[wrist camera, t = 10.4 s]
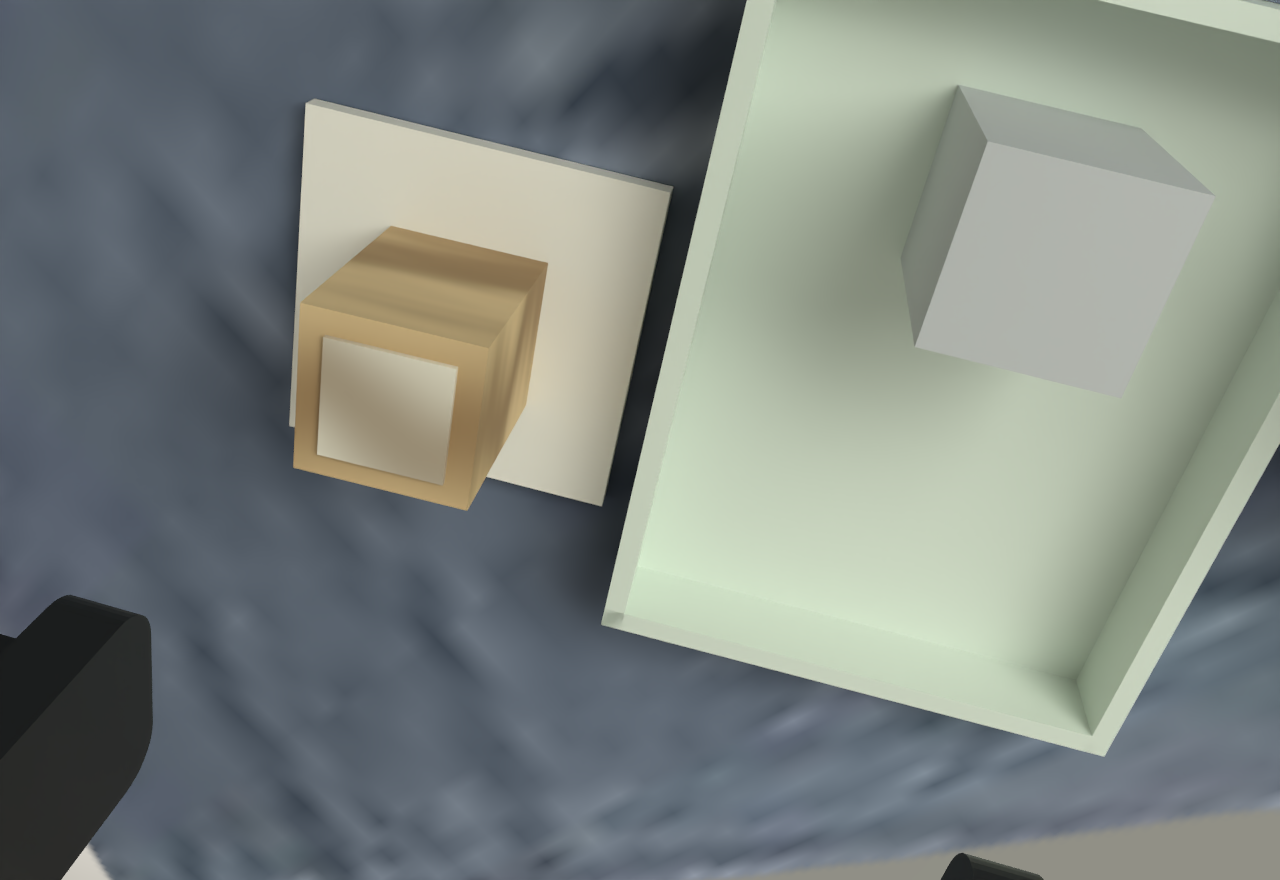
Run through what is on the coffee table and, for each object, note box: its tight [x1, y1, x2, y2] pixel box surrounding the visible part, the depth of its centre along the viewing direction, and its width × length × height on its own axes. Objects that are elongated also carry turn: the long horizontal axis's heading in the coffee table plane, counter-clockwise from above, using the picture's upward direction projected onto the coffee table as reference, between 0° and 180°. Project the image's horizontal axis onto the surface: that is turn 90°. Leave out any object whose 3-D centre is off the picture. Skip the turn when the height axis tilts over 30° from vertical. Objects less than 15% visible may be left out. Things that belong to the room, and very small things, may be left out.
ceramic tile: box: [289, 99, 673, 506], centre depth 32 cm, size 10×10×1 cm
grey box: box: [901, 85, 1216, 398], centre depth 25 cm, size 4×4×6 cm
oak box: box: [293, 226, 548, 511], centre depth 29 cm, size 4×4×6 cm
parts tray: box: [601, 0, 1280, 756], centre depth 29 cm, size 20×15×3 cm
